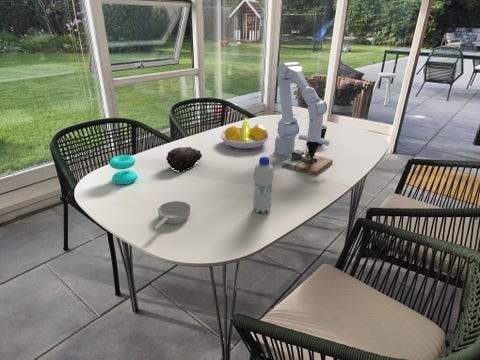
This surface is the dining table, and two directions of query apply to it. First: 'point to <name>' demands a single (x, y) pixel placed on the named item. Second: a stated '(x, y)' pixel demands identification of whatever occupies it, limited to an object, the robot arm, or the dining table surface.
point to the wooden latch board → (308, 165)
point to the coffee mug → (323, 132)
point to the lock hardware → (297, 154)
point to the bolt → (306, 156)
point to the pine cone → (183, 158)
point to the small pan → (173, 213)
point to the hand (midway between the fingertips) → (311, 156)
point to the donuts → (124, 175)
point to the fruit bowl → (245, 136)
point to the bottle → (263, 185)
